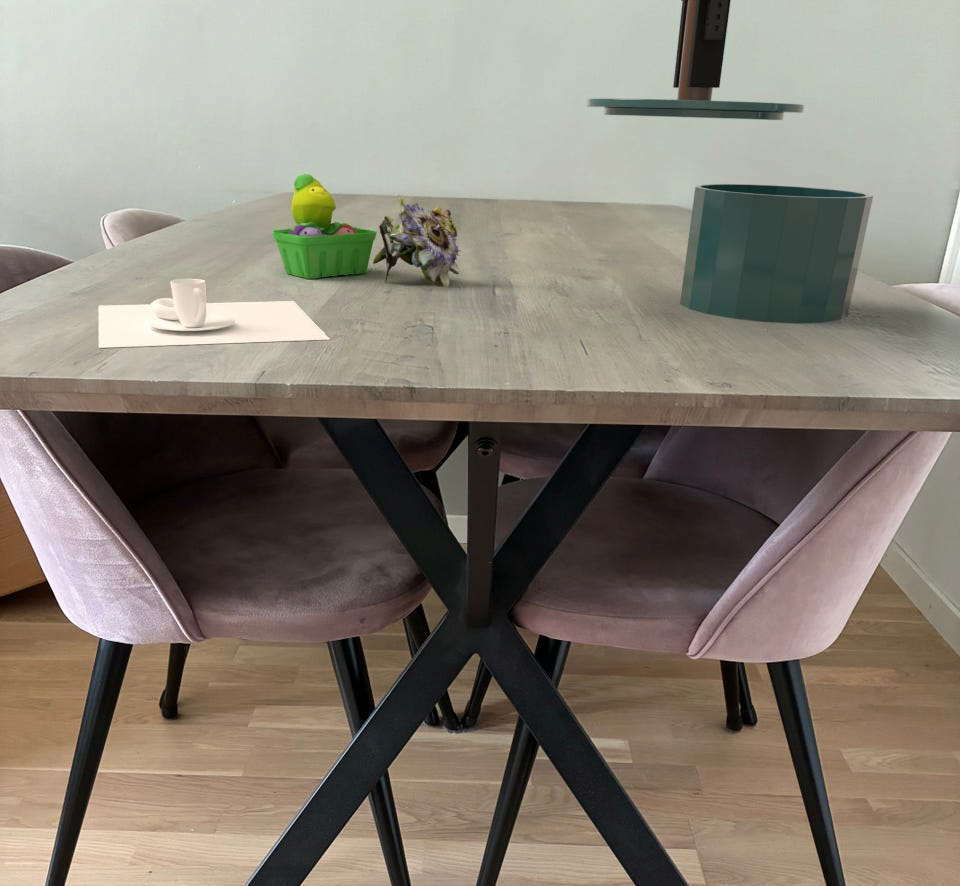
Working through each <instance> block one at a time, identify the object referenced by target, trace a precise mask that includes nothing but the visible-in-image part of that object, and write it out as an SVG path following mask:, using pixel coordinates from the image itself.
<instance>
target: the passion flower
mask: <svg viewBox="0 0 960 886" xmlns="http://www.w3.org/2000/svg"><path fill="white" fill-rule="evenodd" d="M397 200H398V204H399V208H400V211H401V212H400V213H399V214H398V216H399V218H400V220H401V222H400V223H399V224H397V225H393V224H392V223H393V222H394V220H395V218H394V217H390V216H388V215H385V216H384V218H383V219H382V221H381V222H382V223H380V224H379V226H378V227H379V233H380V235H381V239H382V242H383V248H381V249H380V250H379V252H378V253H377V254H376V255H375V257H374V258H373V260H372V264H373V265H376V264H378V263H380V262H382V261H384V260H385V263H384V264H385V265H384V277H385V278H384V282H385V283H387V282H388V278H389V274H390V270H391V269H392V268H393V267H395V266H396V265H397V263H398V259H401V260H402V261H403V262H404V263H406V264H408V265H409V266H414V267H416V268H420V269H421V272H422V275H423V276H424V278H425V280H426V281H427V282H428V283H430V284H431V285H435V284H436V285H437V286H438V287H449V286H450V277H449V272H452V273H453V274H455V275H459V274H460V269H459V267H458V266H459V265H458V264H457V262H456V260H457V259H458V257H461V255H459V252H461V250H460V249H459V246H458V245H457V240H458V239H457V237H458V227H457V225H456V224H455V223H454V222H453V218H452V217H451V216H452V212H451V211H450V209H445V210H444V211H445V212H444V211H443V209H442V207H441V206H437V207H435V208H434V209H433V210H432V209H430V210H427V211H426V210H425V209H424V207H421V206H420V205H419V203H418V202H414V203H412V205H410V204H407V202H406V198H404V196H402V195H400V194H399V195H398V196H397ZM386 236H387V237H388V239H387V237H386ZM388 240H389V241H388ZM457 256H458V257H457Z"/></svg>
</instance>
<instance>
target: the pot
mask: <svg viewBox="0 0 960 886" xmlns="http://www.w3.org/2000/svg"><path fill="white" fill-rule="evenodd" d="M873 199H874V196H873V195H872V194H870V193H865V192H859V191H853V190H852V191H851V190H842V189H835V188H822V187H810V186H809V187H808V186H793V185H777V184H776V185H775V184H774V185H773V184H751V183H750V184H749V183H747V184H746V183H706V184H696V185H695V187H694V194H693V202H692V209H691V217H690V225H689V232H688V240H687V247H686V255H685V262H684V263H685V264H684V270H683V271H684V272H683V279H682V284H681V285H682V286H681V294H680V300H679V301H680V302H679V303H680V305H682V306H684V307H685V308H687V309H688V310H691V311H695V312H698V313H702V314H706V315H709V316H710V315H711V316H717V317H722V318H729V319H734V320H741V321H752V322H761V323H775V324H776V323H777V324H819V323H821V324H822V323H830V322H835V321H841V320H843V319H845V318H847V317H848V316H849V311H850V308H851V304H852V298H853V294H854V293H853V292H854V289H855V285H856V284H855V283H856V279H857V274H858V270H859V265H860V260H861V255H862V250H863V246H864V241H865V237H866V232H867V227H868V223H869V217H870V213H871V208H872V205H873V204H872V203H873Z"/></svg>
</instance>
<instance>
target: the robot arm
mask: <svg viewBox="0 0 960 886" xmlns="http://www.w3.org/2000/svg"><path fill="white" fill-rule="evenodd" d="M680 1H681V2H682V3H681V12H680V22H679V28H678V29H679V30H678V38H677V39H678V40H677V50H676V57H675V67H674V77H673V86H672V88H675V89H678V87H679V78H680V69H681V60H682V50H683V41H684V32H685V23H686V14H687V5H688V0H680ZM731 1H732V0H697V1H696V9H695V18H694V27H693V36H692V45H691V53H690V62H689V71H688V80H687V87H708V88H713V89H718V88H720V87H721V86H720V85H721V79H722V72H723V71H722V70H723V63H724V54H725V48H726V39H727V33H728V25H729V16H730V9H731Z"/></svg>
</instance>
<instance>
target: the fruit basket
mask: <svg viewBox="0 0 960 886" xmlns="http://www.w3.org/2000/svg"><path fill="white" fill-rule="evenodd" d="M293 182H294V183H293V186H294V189H293V197H292V200H291V213H292V217H293V220H294V222H295V224H296V225H294V226H293V228H285V229H275V230H272V231H271V233H272V236H273V239H274V240H275V243H276V245H277V248H278V251H279V254H280V258H281V261H282V264H283V267H284V270H285V272H286V274H287V275H292V276H295V277H299V278H302V279H303V278H305V279H307V280H311V279H312V280H313V279H320V278H322V279H323V278H330V277H329V276H334V277H338V276H337V275H345V276H350V275H349V274H352V275H363V273H364V274H366V273H367V270H368V267H369V262H370V258H371V254H372V250H373V245H374V241H375V240H376V236H377V233H378V232H377V231H376V230H373V229H372V230H371V229H366V228H360V227H355V226H352V225H351V224H349V223H347V222H338V221H334V222H332V218H333V212H334V211H335V210H336V209H337V207H336V203H335V200H334V198H333V195H331V194H330V192H329V191H328V190H327V189H326V188H325V187H324V186H323V185H322V183H321V182H320V181H319V180H318V179H316V178H315V177H313V176H312V175H311V174H308V173H304V174H298V176H297V177H296V178H295V179H294V181H293Z"/></svg>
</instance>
